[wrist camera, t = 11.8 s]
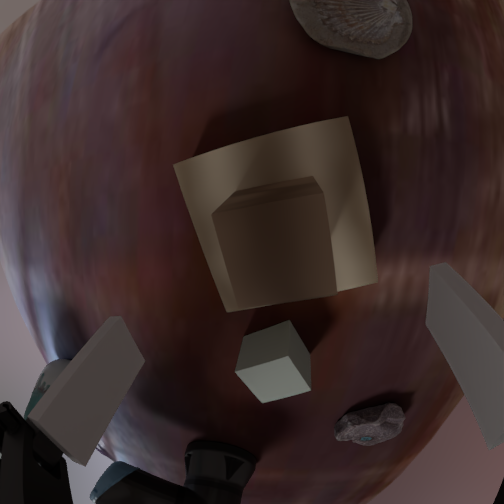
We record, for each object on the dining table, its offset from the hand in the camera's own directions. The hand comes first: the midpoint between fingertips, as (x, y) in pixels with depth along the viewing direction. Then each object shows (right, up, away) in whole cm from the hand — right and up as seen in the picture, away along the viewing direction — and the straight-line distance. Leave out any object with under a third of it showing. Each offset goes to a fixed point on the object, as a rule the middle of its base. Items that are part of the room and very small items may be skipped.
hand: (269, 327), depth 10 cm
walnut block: (+2, +5, +11) cm, 12 cm away
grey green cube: (+2, -8, +22) cm, 23 cm away
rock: (+19, -24, +26) cm, 40 cm away
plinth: (+2, +7, +16) cm, 17 cm away
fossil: (+9, +25, +7) cm, 28 cm away
